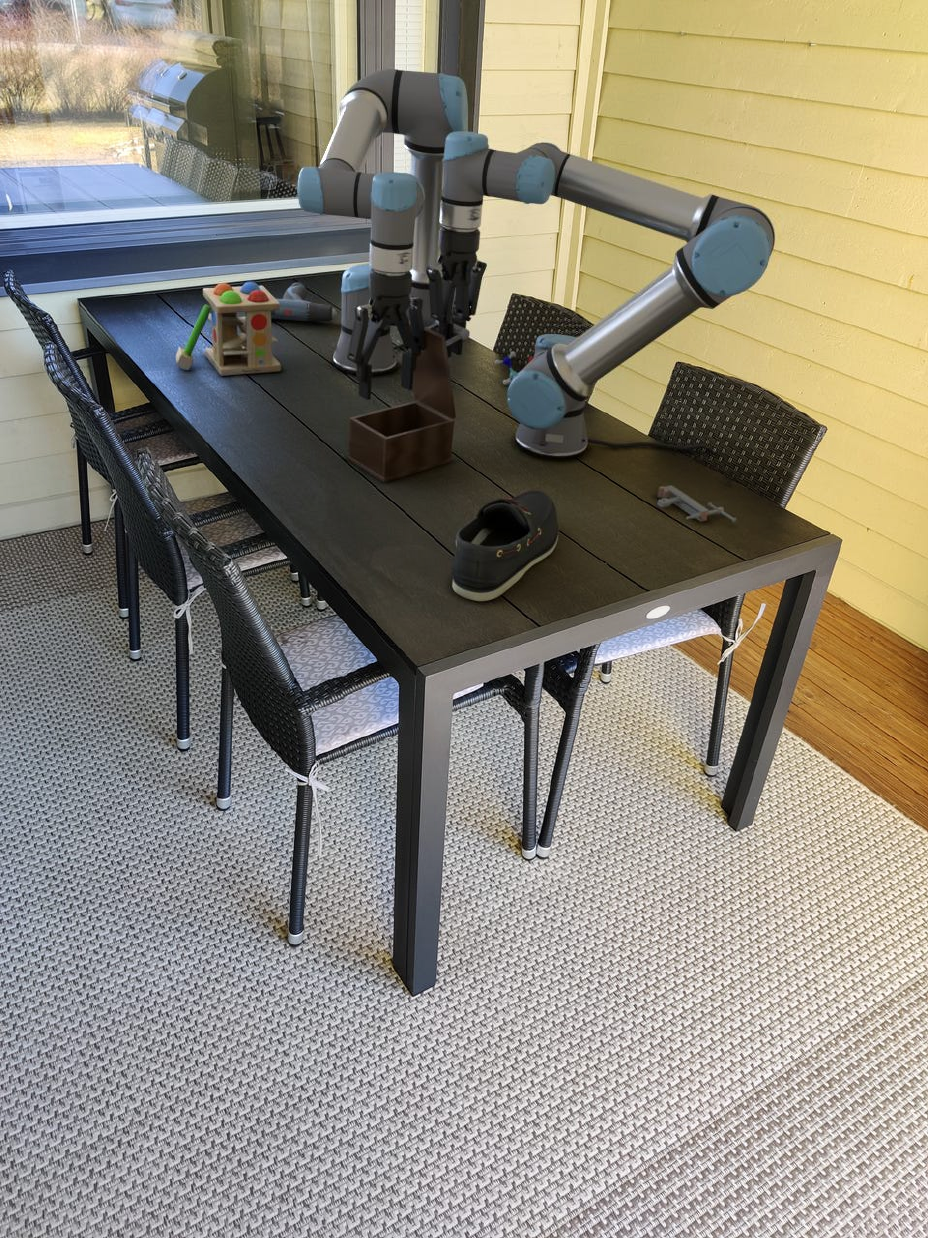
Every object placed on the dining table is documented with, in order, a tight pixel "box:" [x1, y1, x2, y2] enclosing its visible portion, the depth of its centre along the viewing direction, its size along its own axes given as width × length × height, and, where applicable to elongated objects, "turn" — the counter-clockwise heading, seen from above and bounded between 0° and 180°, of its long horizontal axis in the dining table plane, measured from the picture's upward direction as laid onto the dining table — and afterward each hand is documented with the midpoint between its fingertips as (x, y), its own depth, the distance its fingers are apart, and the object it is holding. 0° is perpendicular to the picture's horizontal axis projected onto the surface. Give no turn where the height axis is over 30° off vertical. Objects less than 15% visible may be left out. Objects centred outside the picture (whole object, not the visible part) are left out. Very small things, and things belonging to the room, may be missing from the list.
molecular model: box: [494, 351, 534, 386], centre depth 232 cm, size 12×10×10 cm
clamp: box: [656, 485, 738, 523], centre depth 187 cm, size 15×2×10 cm
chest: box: [347, 400, 455, 483], centre depth 193 cm, size 17×12×9 cm
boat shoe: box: [450, 489, 559, 602], centre depth 165 cm, size 13×33×10 cm, turn 147°
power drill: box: [271, 282, 338, 322], centre depth 265 cm, size 5×19×20 cm
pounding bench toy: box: [174, 281, 282, 377], centre depth 225 cm, size 23×14×18 cm, turn 116°
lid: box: [408, 319, 471, 420], centre depth 191 cm, size 18×12×8 cm
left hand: (385, 392), depth 184 cm, fingers open, 9 cm apart
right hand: (450, 353), depth 191 cm, fingers closed on lid, 2 cm apart
